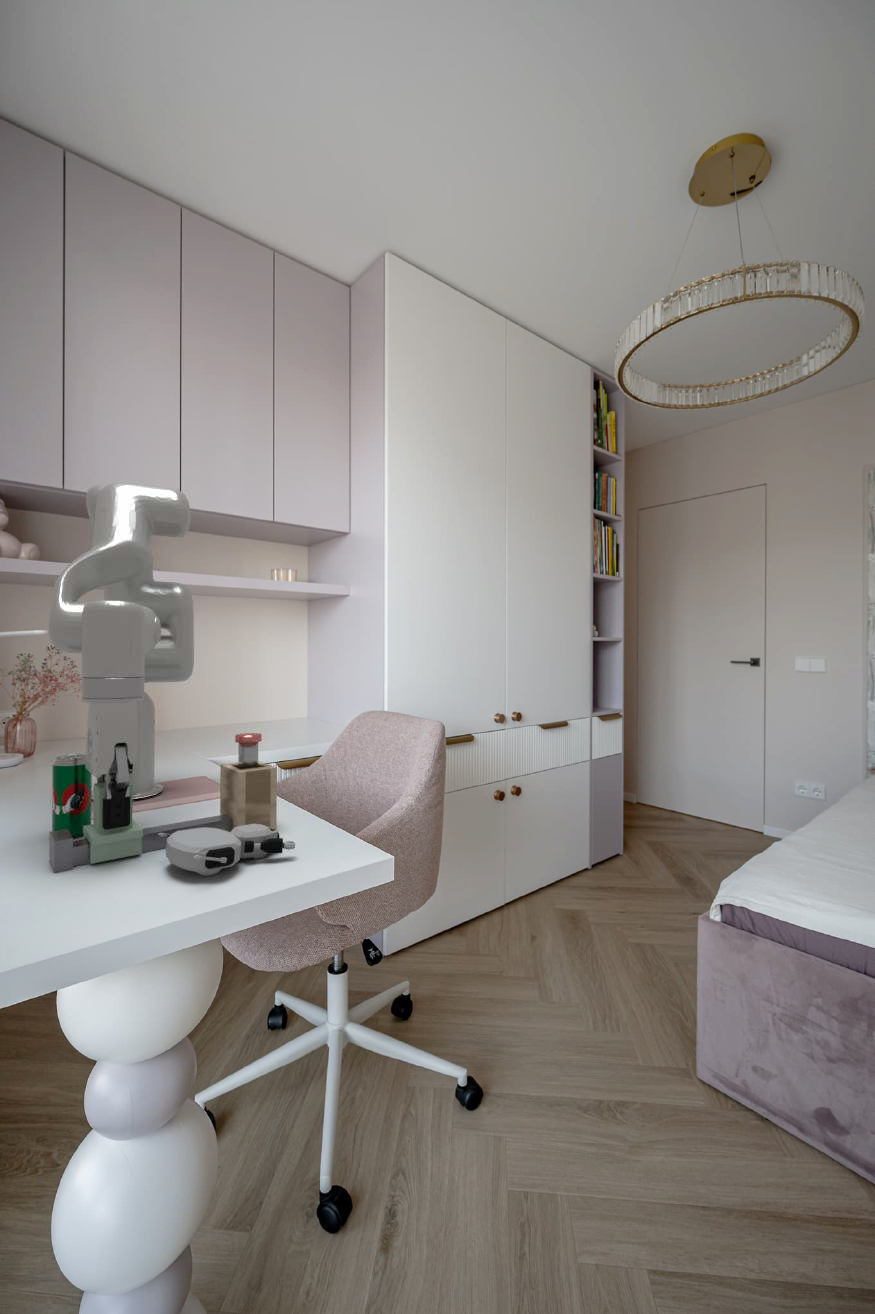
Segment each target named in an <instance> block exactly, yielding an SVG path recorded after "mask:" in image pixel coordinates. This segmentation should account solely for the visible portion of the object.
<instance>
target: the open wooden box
mask: <svg viewBox="0 0 875 1314" xmlns="http://www.w3.org/2000/svg"><path fill="white" fill-rule="evenodd" d="M277 771H278V768H277V767H276V766H273V765H271V764H268V763H266V762H265V763H264V762H262V761H259V760H258V768H250V769H242V770H240V769H238V762H232V763H231V762H230V763H223V764H222V763H221V764H220V781H219V783H220V796H219V797H220V800H219V802H220V804H219V805H220V807H219V808H220V809H219V812H220V813H219V815H224V814H226V815H228V816H229V817H231V818H233V828H234V827H238V826H243V825H249V824H261V825H264V826H266V827H271V828H272V829H274V830H277V819H278V818H277V815H278V814H277V812H278V811H277V806H278V805H277V804H278V803H277V802H278V801H277V800H278V799H277V797H278V793H277V792H278V789H277V788H278V787H277V786H278V783H277V782H278V779H277V778H278V772H277Z"/></svg>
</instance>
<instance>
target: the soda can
mask: <svg viewBox="0 0 875 1314" xmlns="http://www.w3.org/2000/svg"><path fill="white" fill-rule="evenodd" d="M85 754H86V753H85ZM85 754H83V753H82V754H80V753H79V754H77V753H76V754H66V755H60V756H56V757H55V761H54V763H53V764H52V775H51V777H52V778H51V780H52V781H51V782H52V787H51V789H52V792H51V793H52V794H51V799H52V800H51V801H52V802H51V803H52V805H51V809H52V811H51V831H57V830H63V829H68V831H69V832H70V834H71V836H72V837H73V839H75V838H80V837H84V834H83V826H85V825H92V801H93V800H92V784H93V783H92V782H93V781H92V780H93V779H92V778H93V777H92V776H93V775H92V774H91V773H90V772H89V771H88V770H87V769H86V767H85Z"/></svg>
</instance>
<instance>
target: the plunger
mask: <svg viewBox="0 0 875 1314" xmlns="http://www.w3.org/2000/svg"><path fill="white" fill-rule="evenodd" d="M262 735H263V734H262V733H258V732H250V733H249V732H246V733H237V734H235V736H234V738H235V739H234V742H235V743H238V751H237V752H238V757H237V758H238V759H237V760H238V762H237V763H238V769H240V770H242V769H250V768H258V761H259V742H262V740H263V736H262Z"/></svg>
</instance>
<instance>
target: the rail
mask: <svg viewBox="0 0 875 1314" xmlns="http://www.w3.org/2000/svg"><path fill="white" fill-rule="evenodd" d="M203 827H206V828H217V829H221V830H225V831H227V832H231V831H232V830H233V818H231V817H229V816H228V815H226V814H224V815H220V814H219V815H214V816H208V817H202V818H197V819H192V820H185V821H180V822H174V823H167V824H163V825H162V824H161V825H157V826H152V827H146V828H142V829H143V837H142V854H143V853H148V852H153V851H158V850H162V849H166V844H167V838H168V837H167V836H164V837H163V836H159V835H158V834H159V833H165V834H173V833H174V832H176V831H180V830H188V829H195V828H203ZM48 847H49V850H48V851H49V854H48V855H49V856H48V858H49V860H48V861H49V865H50V866H51V869H52V872H53V873H54V874H56V873H60V872H65V871H66V872H67V871H70V870H73V868H74V867H78V866H82V865H87V864H91V863H90V842H89V841H88V839H84V838H82V839H77V840H74V838H73V837H72V836H71V834H70V832H69V831H68V829H63V830H57V831H52V830H51V831H49V846H48Z"/></svg>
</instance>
